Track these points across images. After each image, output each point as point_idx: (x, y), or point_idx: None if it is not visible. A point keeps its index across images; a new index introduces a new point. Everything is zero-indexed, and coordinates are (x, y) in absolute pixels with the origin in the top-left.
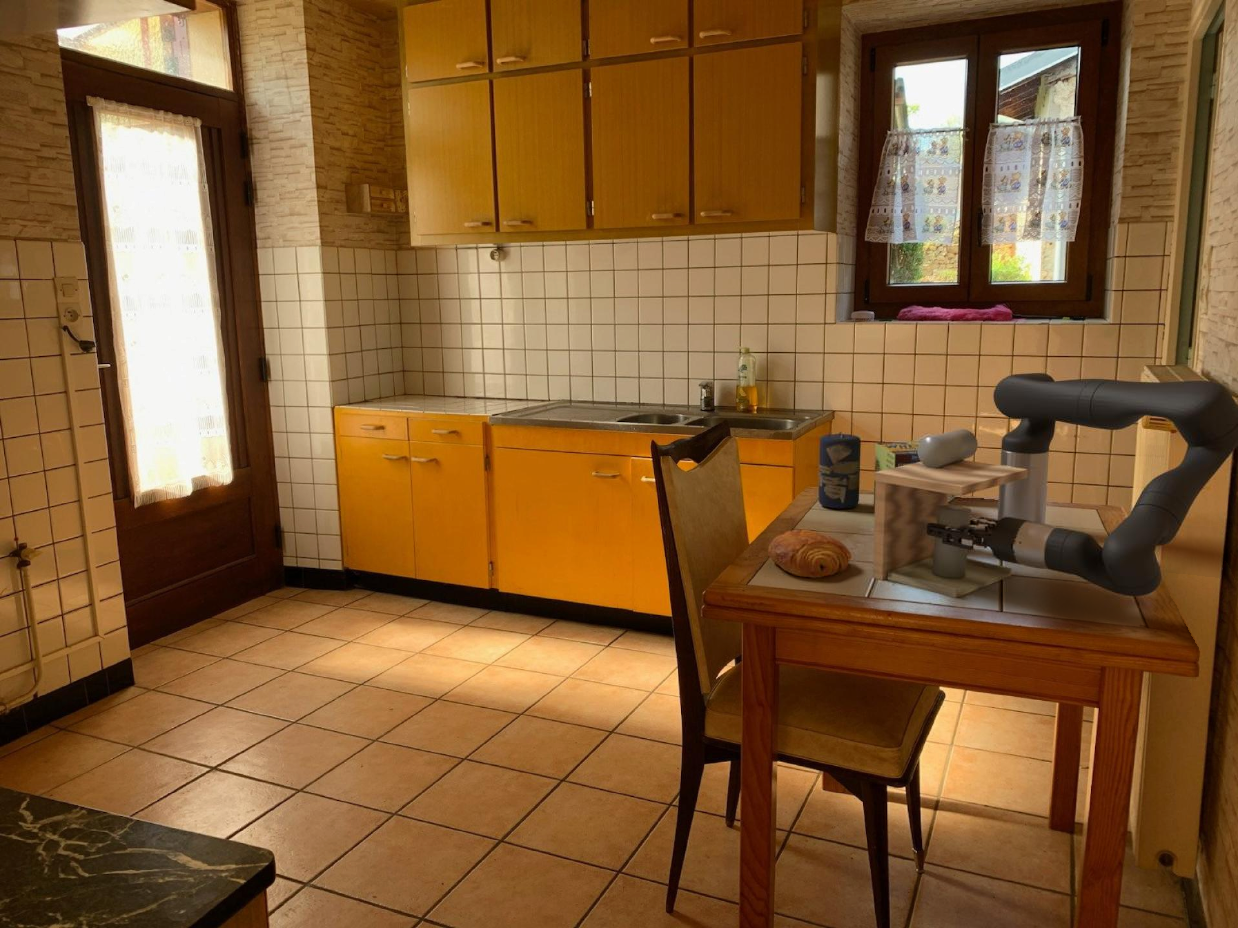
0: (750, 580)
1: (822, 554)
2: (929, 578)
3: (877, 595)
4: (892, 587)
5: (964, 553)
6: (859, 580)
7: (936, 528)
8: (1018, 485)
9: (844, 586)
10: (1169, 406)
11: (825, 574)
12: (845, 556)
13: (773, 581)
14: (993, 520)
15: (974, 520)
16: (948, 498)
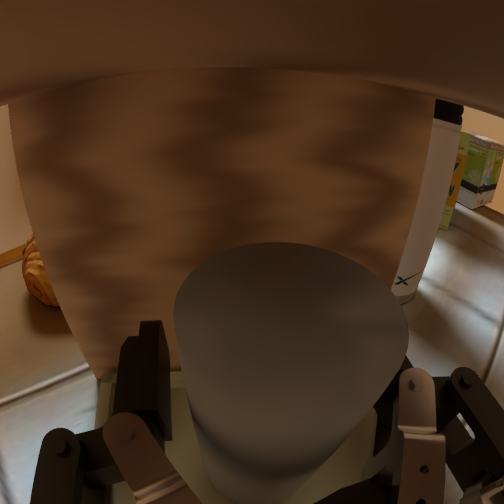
0: (3, 267)
1: (40, 267)
2: (169, 457)
3: (3, 420)
4: (64, 420)
5: (274, 492)
6: (68, 351)
7: (117, 380)
8: None
9: (22, 352)
10: None
11: (49, 304)
12: None
13: (8, 281)
14: (493, 434)
15: (404, 405)
16: (475, 204)
